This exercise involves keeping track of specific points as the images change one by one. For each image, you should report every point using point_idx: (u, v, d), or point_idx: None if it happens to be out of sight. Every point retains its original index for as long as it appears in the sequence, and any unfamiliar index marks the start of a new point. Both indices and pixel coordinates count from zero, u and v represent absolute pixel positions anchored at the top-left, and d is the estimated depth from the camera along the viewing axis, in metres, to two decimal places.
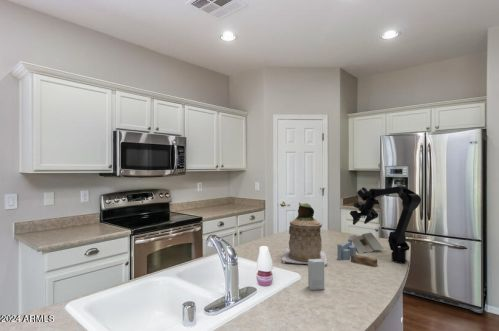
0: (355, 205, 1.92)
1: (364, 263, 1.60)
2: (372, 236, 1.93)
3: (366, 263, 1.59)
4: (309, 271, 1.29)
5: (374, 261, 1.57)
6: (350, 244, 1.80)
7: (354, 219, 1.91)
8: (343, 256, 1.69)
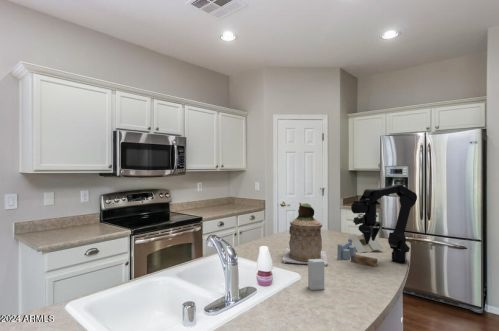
0: (357, 220, 1.60)
1: (364, 263, 1.60)
2: None
3: (366, 263, 1.59)
4: (309, 271, 1.29)
5: (374, 261, 1.57)
6: (350, 244, 1.80)
7: (366, 235, 1.56)
8: (343, 256, 1.69)
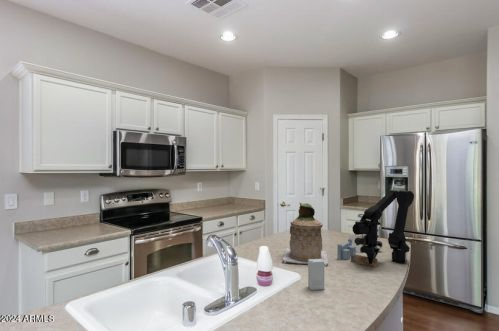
0: (358, 241, 1.60)
1: (364, 263, 1.60)
2: None
3: (366, 263, 1.59)
4: (309, 271, 1.29)
5: (374, 261, 1.57)
6: (350, 244, 1.80)
7: (369, 255, 1.57)
8: (343, 256, 1.69)
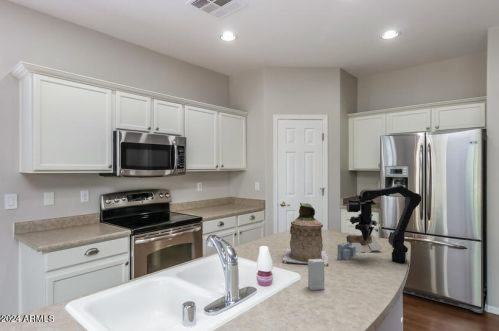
0: (353, 220, 1.68)
1: (359, 241, 1.68)
2: (371, 236, 1.92)
3: (361, 241, 1.67)
4: (309, 271, 1.29)
5: (369, 238, 1.65)
6: (350, 244, 1.80)
7: (364, 233, 1.65)
8: (343, 256, 1.69)
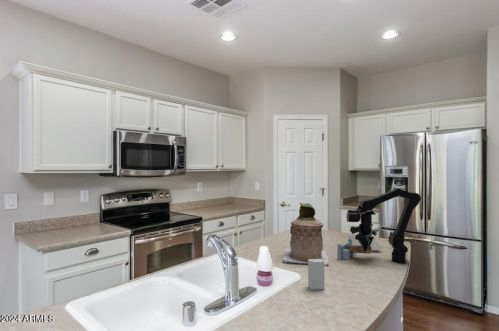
0: (353, 230, 1.68)
1: (359, 251, 1.68)
2: None
3: (361, 251, 1.67)
4: (309, 271, 1.29)
5: (368, 248, 1.65)
6: (350, 244, 1.80)
7: (364, 243, 1.65)
8: (343, 256, 1.69)
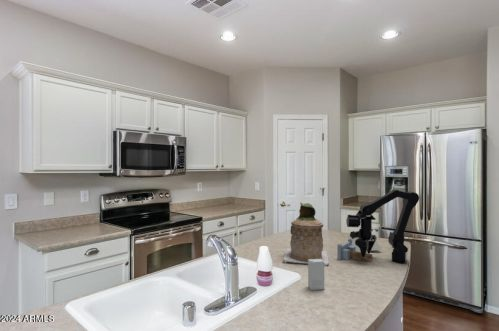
0: (353, 235, 1.68)
1: (360, 258, 1.68)
2: None
3: (361, 258, 1.67)
4: (309, 271, 1.29)
5: (369, 257, 1.65)
6: (350, 244, 1.80)
7: (362, 249, 1.63)
8: (343, 256, 1.69)
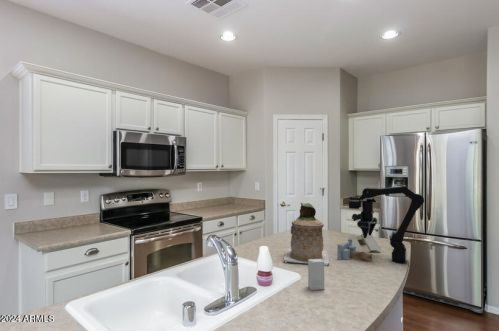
0: (355, 217, 1.73)
1: (360, 258, 1.68)
2: (371, 236, 1.92)
3: (361, 258, 1.67)
4: (309, 271, 1.29)
5: (369, 257, 1.65)
6: (350, 244, 1.80)
7: (364, 230, 1.68)
8: (343, 256, 1.69)
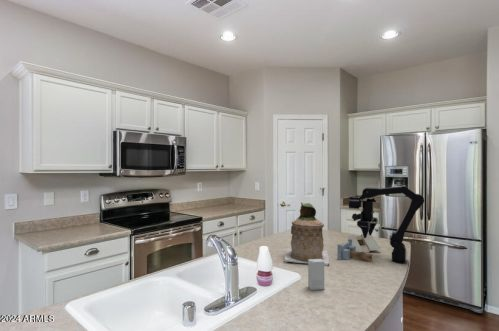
0: (355, 216, 1.73)
1: (360, 258, 1.68)
2: (371, 237, 1.92)
3: (361, 258, 1.67)
4: (309, 271, 1.29)
5: (369, 257, 1.65)
6: (350, 244, 1.80)
7: (364, 230, 1.68)
8: (343, 256, 1.69)
